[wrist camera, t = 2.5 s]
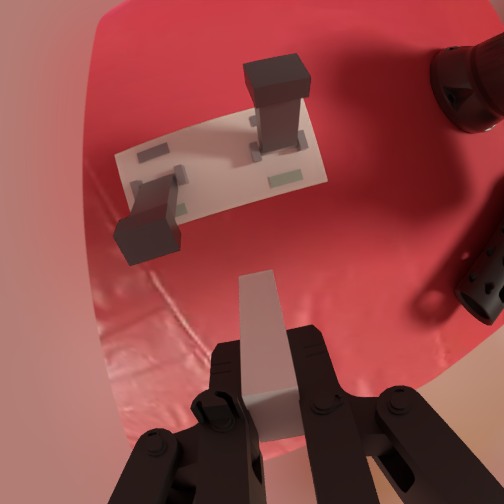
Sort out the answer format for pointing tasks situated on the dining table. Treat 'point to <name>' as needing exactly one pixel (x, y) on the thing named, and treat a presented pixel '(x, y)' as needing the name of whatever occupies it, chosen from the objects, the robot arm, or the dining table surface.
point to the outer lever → (150, 223)
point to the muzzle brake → (485, 281)
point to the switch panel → (222, 164)
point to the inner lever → (277, 98)
